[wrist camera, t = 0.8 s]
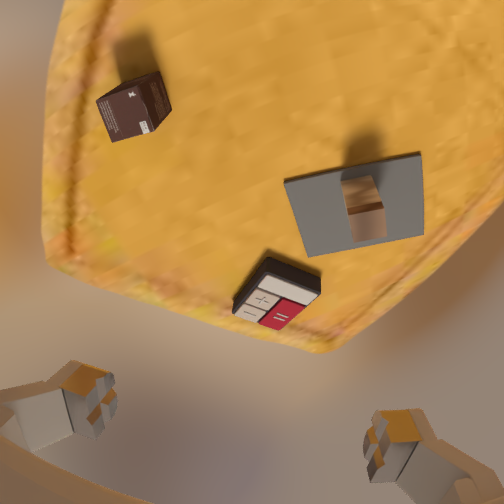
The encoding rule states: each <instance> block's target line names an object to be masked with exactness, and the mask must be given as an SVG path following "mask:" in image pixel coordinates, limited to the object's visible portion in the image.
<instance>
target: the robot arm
mask: <svg viewBox="0 0 504 504" xmlns="http://www.w3.org/2000/svg"><path fill="white" fill-rule="evenodd" d="M114 384H115V379H114V375H113V374H112V373H111V372H109V371H106V370H103V369H100V368H97V367H94V366H91V365H88V364H84V363H81V362H78V361H75V360H71V361H69V362H68V363H67V364H66V365H65V366H64V367H63V368H61V369H60V370H59V371H58V372H57V373H56V374H54V375H53V376H52V377H51V378H50V379H49V380H47V381H46V382H44V381H39V382H35V383H31V384H26V385H22V386H17V387H12V388H8V389H3V390H0V504H153V503H150V502H147V501H144V500H140V499H137V498H134V497H131V496H128V495H125V494H122V493H119V492H117V491H114V490H111V489H108V488H106V487H103V486H100V485H98V484H95V483H93V482H90V481H88V480H86V479H83V478H81V477H79V476H77V475H74V474H72V473H70V472H68V471H66V470H63V469H61V468H59V467H57V466H55V465H53V464H51V463H49V462H47V461H45V460H43V459H41V458H40V457H38V456H36V455H34V454H32V452H34V451H37V450H39V449H41V448H44V447H46V446H48V445H50V444H52V443H55V442H57V441H59V440H61V439H63V438H65V437H68V436H70V435H72V434H73V432H74V433H77V434H79V435H82V436H85V437H88V438H90V439H93V440H97V438H98V437H99V436H100V434H101V433H102V432H103V430H104V429H105V426H104V422H107V421H109V420H111V419H112V418H113V416H114V415H115V412H116V409H117V402H118V400H117V394H116V392H115V391H114V390H113V389H112V387H113V385H114ZM371 421H372V424H373V426H372V427H371V428H370V429H368V430H367V432H366V435H365V438H364V444H363V453H364V458H365V459H367V460H368V461H369V464H368V466H367V471H368V476H369V480H370V483H382V482H395V483H396V484H397V485H398V486H399V487H400V488H401V489H402V490H403V491H404V492H405V493H406V494H407V495H408V496H409V497H410V498H411V499H412V500H413V501H414V502H415V503H416V504H504V488H503V486H502V484H501V482H500V481H499V479H498V477H497V475H496V473H495V472H494V470H492V469H491V468H489V467H487V466H485V465H484V464H482V463H480V462H479V461H477V460H475V459H473V458H472V457H470V456H469V455H467V454H465V453H463V452H462V451H460V450H458V449H457V448H455V447H454V446H452V445H450V444H449V443H447V442H445V441H444V440H442V439H440V440H438V439H437V437H436V435H435V433H434V431H433V429H432V427H431V425H430V424H429V422H428V420H427V418H426V416H425V414H424V412H423V410H422V409H420V408H416V409H405V410H376V411H375V413H374V415H373V417H372V419H371Z"/></svg>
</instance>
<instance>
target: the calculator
mask: <svg viewBox="0 0 504 504" xmlns="http://www.w3.org/2000/svg"><path fill="white" fill-rule="evenodd" d="M320 294H321V279H320V278H319V277H317V276H314V275H312V274H310V273H307V272H305V271H302V270H300V269H298V268H295V267H293V266H290V265H288V264H286V263H283V262H281V261H278V260H276V259H273V258H271V257H267V258H266V259H265V260H264V262H263V263H262V265H261V266H260V267H259V269H258V270H257V271H256V274H255V275H254V276H253V277H252V279H251V280H250V281H249V282H248V284H247V285H246V286H245V287H244V289H243V290H242V291H241V293H240V294H239V295H238V297H237V298H236V299H235V301H234V303H233V308H232V313H233V314H235V316H237V317H240V318H243V319H246V320H249V321H252V322H255V323H256V322H258V323H259V324H260V325H263V326H266V327H269V328H272V329H275V330H280V329H282V328H283V327H284V326H285V325H286V324H287V323H289V322H290V321H291V320H292V319H293V318H294V317H295V316H297V315H298V314H299V313H300V312H301V311H302V310H303V309H305V308H306V307H307V306H308V305H309V304H310V303H311V302H312V301H313V300H315V299H316V298H317V297H318V296H319V295H320Z"/></svg>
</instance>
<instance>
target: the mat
mask: <svg viewBox="0 0 504 504" xmlns="http://www.w3.org/2000/svg"><path fill="white" fill-rule="evenodd" d="M368 175H371V176H372V178H373V181H374V183H375V186H376V188H377V191H378V193H379V196H380V198H381V201H382V203H383V206H384V209H385V218H386V229H387V236H386V237H381V238H376V239H371V240H366V241H361V242H356V243H354V242H353V237H352V233H351V228H350V223H349V219H348V215H347V210H346V206H345V201H344V196H343V192H342V187H341V183H340V181H344V180H348V179H353V178H358V177H363V176H368ZM284 186H285V189H286V192H287V195H288V198H289V201H290V204H291V207H292V210H293V213H294V216H295V219H296V222H297V225H298V228H299V231H300V234H301V237H302V240H303V243H304V246H305V250H306V253H307V256H308V257H313V256H319V255H324V254H329V253H334V252H339V251H345V250H350V249H355V248H360V247H365V246H370V245H375V244H380V243H385V242H390V241H395V240H400V239H405V238H410V237H415V236H420V235H424V199H423V175H422V160H421V155H420V154H416V155H410V156H405V157H399V158H394V159H388V160H383V161H378V162H373V163H368V164H363V165H358V166H353V167H348V168H343V169H338V170H334V171H329V172H325V173H320V174H315V175H311V176H307V177H302V178H298V179H293V180H289V181H285V182H284Z"/></svg>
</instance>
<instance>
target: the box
mask: <svg viewBox="0 0 504 504" xmlns="http://www.w3.org/2000/svg"><path fill="white" fill-rule="evenodd" d="M96 103H97V106H98V109H99V111H100V114H101V116H102V119H103V121H104V124H105V126H106V129H107V131H108V134H109V136H110V139H111V141H112V143H113V142H117V141H120V140H123V139H127V138H130V137H134V136H138V135H142V134H146V133H150V132H154V131H155V130H156V128H157V127H158V126H159V125H160V124H161V122H162V121H163V120H164V119H165V118H166V117H167V116H168V114H169V113H170V112H171V111H172V109H171V106H170V103H169V100H168V97H167V94H166V91H165V87H164V84H163V81H162V78H161V75H160V72H155V73H151V74H148V75H145V76H142V77H139V78H136V79H134V80H131V81H128V82H125V83H122V84H120V85H119V86H117V87H116V88H114V89H112V90H111V91H109V92H108V93H106V94H105V95H103V96H102V97H100V98H99V99H98V100H96Z"/></svg>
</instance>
